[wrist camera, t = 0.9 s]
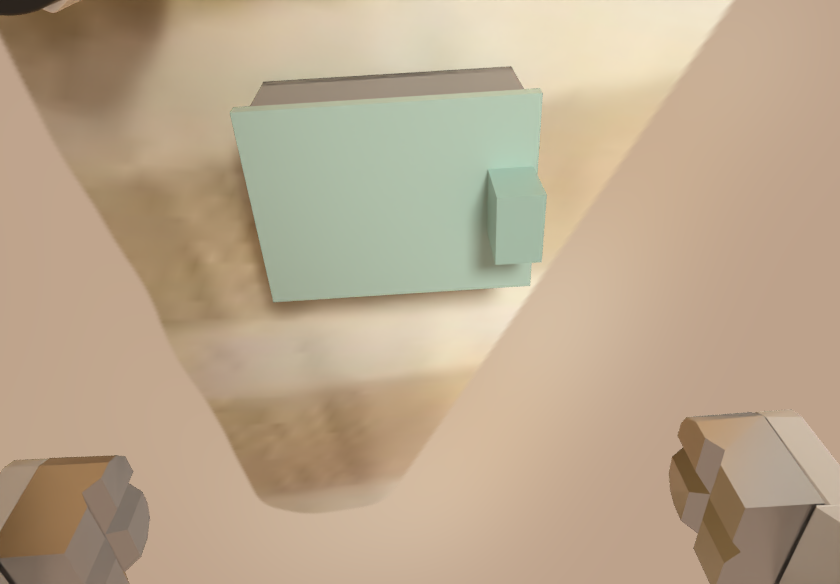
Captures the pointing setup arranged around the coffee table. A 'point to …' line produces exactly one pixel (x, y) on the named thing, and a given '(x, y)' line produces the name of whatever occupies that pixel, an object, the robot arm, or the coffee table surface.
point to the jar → (33, 6)
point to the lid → (395, 193)
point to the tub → (387, 86)
